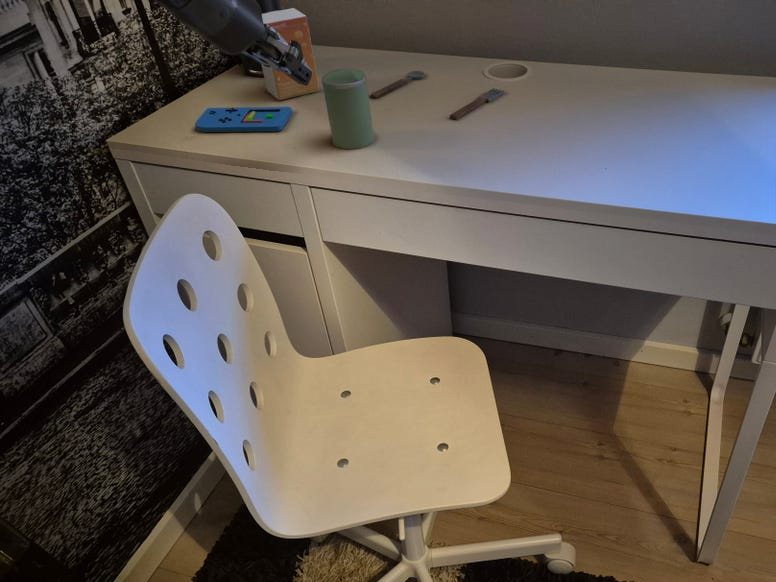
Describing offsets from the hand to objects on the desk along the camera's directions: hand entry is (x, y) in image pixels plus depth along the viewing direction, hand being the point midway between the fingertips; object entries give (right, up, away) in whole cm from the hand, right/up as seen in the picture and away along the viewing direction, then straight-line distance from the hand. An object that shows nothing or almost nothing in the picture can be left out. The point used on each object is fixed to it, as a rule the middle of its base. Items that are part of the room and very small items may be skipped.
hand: (306, 78), depth 95 cm
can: (+4, -5, +12) cm, 14 cm away
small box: (-10, +10, +29) cm, 32 cm away
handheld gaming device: (-16, 0, +19) cm, 24 cm away
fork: (+24, +5, +22) cm, 33 cm away
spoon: (+9, +11, +29) cm, 33 cm away
